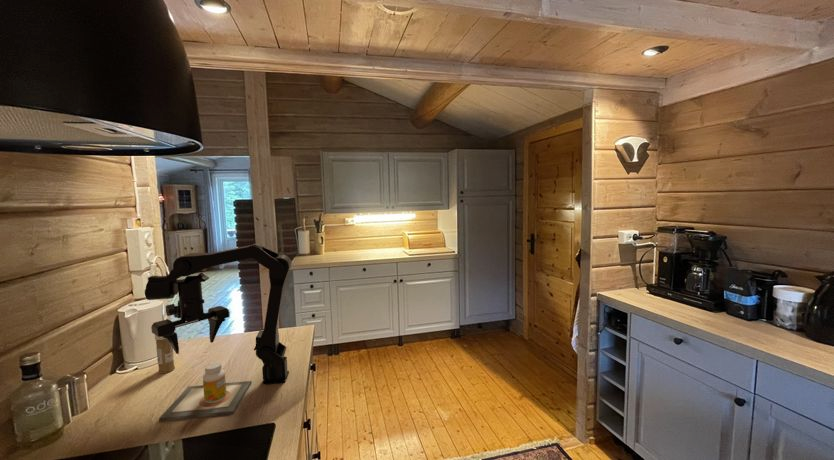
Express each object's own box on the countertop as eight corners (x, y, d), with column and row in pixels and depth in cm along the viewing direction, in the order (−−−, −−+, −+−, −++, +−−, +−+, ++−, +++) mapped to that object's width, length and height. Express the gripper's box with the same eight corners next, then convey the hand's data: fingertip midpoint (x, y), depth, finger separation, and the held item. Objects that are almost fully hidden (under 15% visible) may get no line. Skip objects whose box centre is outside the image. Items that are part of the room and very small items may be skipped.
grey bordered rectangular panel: (251, 383, 106) (251, 379, 105) (233, 413, 91) (233, 409, 91) (188, 388, 103) (188, 385, 103) (159, 421, 88) (158, 417, 88)
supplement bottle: (200, 401, 95) (197, 368, 94) (217, 391, 100) (215, 359, 99) (213, 405, 93) (210, 371, 92) (230, 394, 98) (228, 362, 97)
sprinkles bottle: (174, 371, 114) (171, 332, 112) (157, 375, 111) (153, 335, 110) (175, 365, 117) (171, 328, 116) (158, 369, 115) (155, 331, 113)
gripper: (212, 285, 112) (216, 331, 114) (142, 300, 97) (147, 352, 99) (228, 291, 106) (232, 339, 107) (156, 307, 91) (161, 363, 92)
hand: (195, 347), depth 101 cm, fingers open, 9 cm apart
